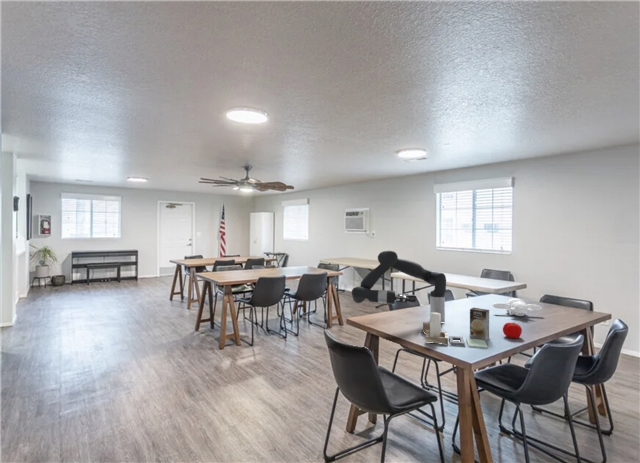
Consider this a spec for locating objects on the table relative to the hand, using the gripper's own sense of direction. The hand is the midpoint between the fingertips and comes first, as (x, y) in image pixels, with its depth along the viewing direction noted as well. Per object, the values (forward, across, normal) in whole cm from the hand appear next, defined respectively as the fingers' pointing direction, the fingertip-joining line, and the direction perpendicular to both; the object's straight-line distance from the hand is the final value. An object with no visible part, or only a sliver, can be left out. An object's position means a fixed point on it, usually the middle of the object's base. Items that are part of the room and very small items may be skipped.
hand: (415, 298), depth 195 cm
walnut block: (+7, +14, +22) cm, 27 cm away
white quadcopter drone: (+70, +81, +20) cm, 109 cm away
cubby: (+11, 0, +22) cm, 25 cm away
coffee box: (+35, +13, +22) cm, 43 cm away
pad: (+32, 0, +22) cm, 39 cm away
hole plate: (+22, 0, +22) cm, 31 cm away
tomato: (+53, +18, +21) cm, 60 cm away
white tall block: (+11, 0, +22) cm, 25 cm away
